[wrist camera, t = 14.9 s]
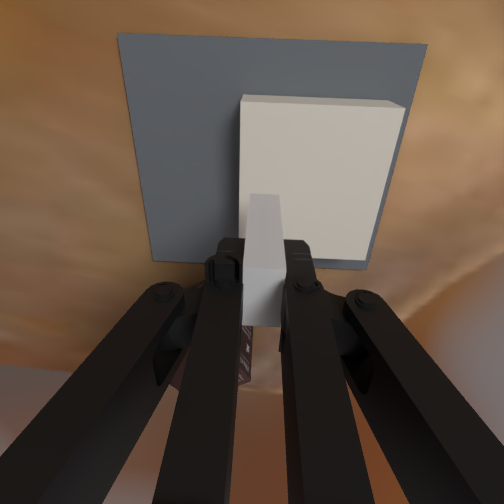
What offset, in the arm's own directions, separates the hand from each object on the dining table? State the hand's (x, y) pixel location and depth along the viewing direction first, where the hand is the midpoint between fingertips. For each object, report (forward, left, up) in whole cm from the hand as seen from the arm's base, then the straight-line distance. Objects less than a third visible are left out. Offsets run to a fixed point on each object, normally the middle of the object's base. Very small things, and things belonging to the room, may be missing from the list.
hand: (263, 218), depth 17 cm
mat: (0, 0, -8) cm, 8 cm away
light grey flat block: (-2, 0, -5) cm, 6 cm away
